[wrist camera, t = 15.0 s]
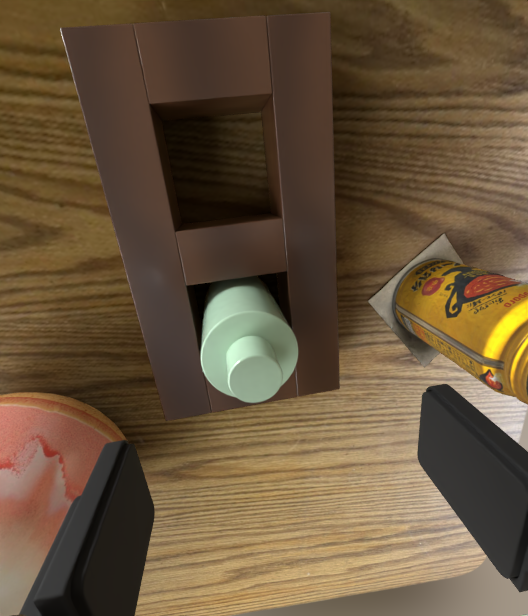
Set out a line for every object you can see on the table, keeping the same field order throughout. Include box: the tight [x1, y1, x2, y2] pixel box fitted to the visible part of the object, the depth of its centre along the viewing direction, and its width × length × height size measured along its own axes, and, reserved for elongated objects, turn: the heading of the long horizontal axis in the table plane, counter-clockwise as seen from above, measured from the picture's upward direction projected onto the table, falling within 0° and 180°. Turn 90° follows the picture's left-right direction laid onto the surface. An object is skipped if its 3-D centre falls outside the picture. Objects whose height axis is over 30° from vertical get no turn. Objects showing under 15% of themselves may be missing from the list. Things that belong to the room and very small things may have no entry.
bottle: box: [201, 276, 298, 403], centre depth 18 cm, size 5×5×10 cm
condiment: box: [368, 233, 528, 404], centre depth 20 cm, size 7×8×12 cm
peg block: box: [60, 12, 340, 421], centre depth 20 cm, size 12×21×4 cm, turn 6°
